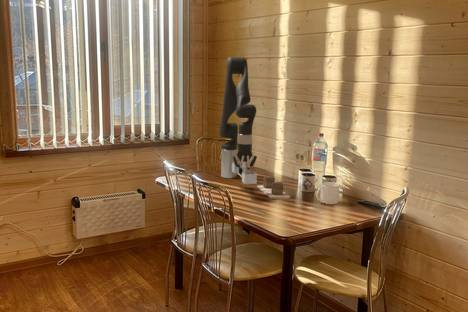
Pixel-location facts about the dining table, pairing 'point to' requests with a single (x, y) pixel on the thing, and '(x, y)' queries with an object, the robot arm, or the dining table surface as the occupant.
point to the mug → (328, 193)
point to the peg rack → (273, 188)
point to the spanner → (245, 174)
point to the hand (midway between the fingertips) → (243, 174)
